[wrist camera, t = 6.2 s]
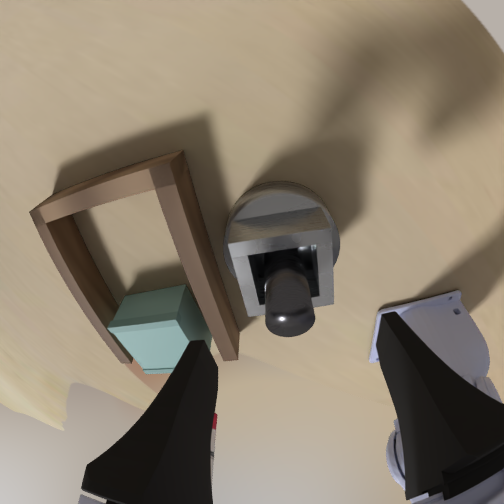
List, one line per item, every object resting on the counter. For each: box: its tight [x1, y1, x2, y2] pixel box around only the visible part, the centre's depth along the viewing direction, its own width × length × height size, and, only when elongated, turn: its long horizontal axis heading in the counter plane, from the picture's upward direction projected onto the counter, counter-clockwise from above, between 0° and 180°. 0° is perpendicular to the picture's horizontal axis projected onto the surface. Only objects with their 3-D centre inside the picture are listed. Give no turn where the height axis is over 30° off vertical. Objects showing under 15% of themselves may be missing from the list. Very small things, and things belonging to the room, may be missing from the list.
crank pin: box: [264, 247, 315, 337], centre depth 14 cm, size 2×2×6 cm
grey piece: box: [223, 181, 340, 317], centre depth 17 cm, size 7×7×5 cm
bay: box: [29, 150, 240, 363], centre depth 19 cm, size 11×16×3 cm
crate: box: [108, 284, 212, 374], centre depth 22 cm, size 6×6×4 cm
